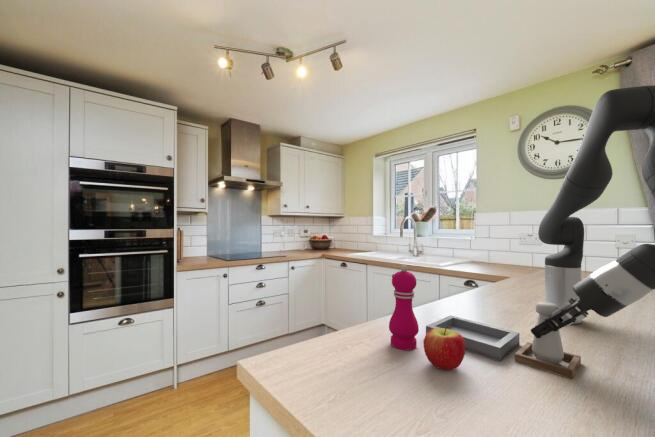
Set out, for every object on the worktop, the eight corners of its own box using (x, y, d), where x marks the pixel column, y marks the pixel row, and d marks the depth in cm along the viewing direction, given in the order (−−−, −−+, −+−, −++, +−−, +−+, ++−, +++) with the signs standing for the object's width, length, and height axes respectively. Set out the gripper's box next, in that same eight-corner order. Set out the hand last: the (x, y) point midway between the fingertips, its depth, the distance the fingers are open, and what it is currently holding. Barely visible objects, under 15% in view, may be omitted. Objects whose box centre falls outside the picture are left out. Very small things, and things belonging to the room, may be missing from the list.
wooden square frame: (527, 348, 72) (527, 342, 72) (580, 363, 65) (580, 356, 65) (514, 360, 65) (514, 353, 65) (572, 378, 58) (572, 371, 58)
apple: (446, 381, 56) (446, 329, 57) (414, 362, 64) (415, 316, 64) (474, 371, 60) (474, 323, 60) (441, 355, 68) (441, 311, 68)
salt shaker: (570, 369, 62) (570, 307, 62) (539, 366, 63) (539, 306, 63) (554, 357, 67) (554, 300, 67) (526, 354, 68) (527, 299, 69)
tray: (450, 325, 88) (450, 315, 88) (519, 344, 74) (519, 332, 74) (425, 337, 78) (425, 325, 78) (500, 361, 65) (500, 347, 65)
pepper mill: (420, 342, 75) (421, 264, 75) (416, 353, 68) (417, 268, 69) (392, 337, 78) (392, 262, 78) (385, 347, 71) (386, 265, 72)
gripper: (596, 269, 64) (531, 312, 73) (587, 276, 55) (513, 324, 64) (631, 298, 60) (557, 339, 69) (627, 311, 51) (542, 357, 60)
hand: (536, 332), depth 67 cm, fingers closed on salt shaker, 3 cm apart
